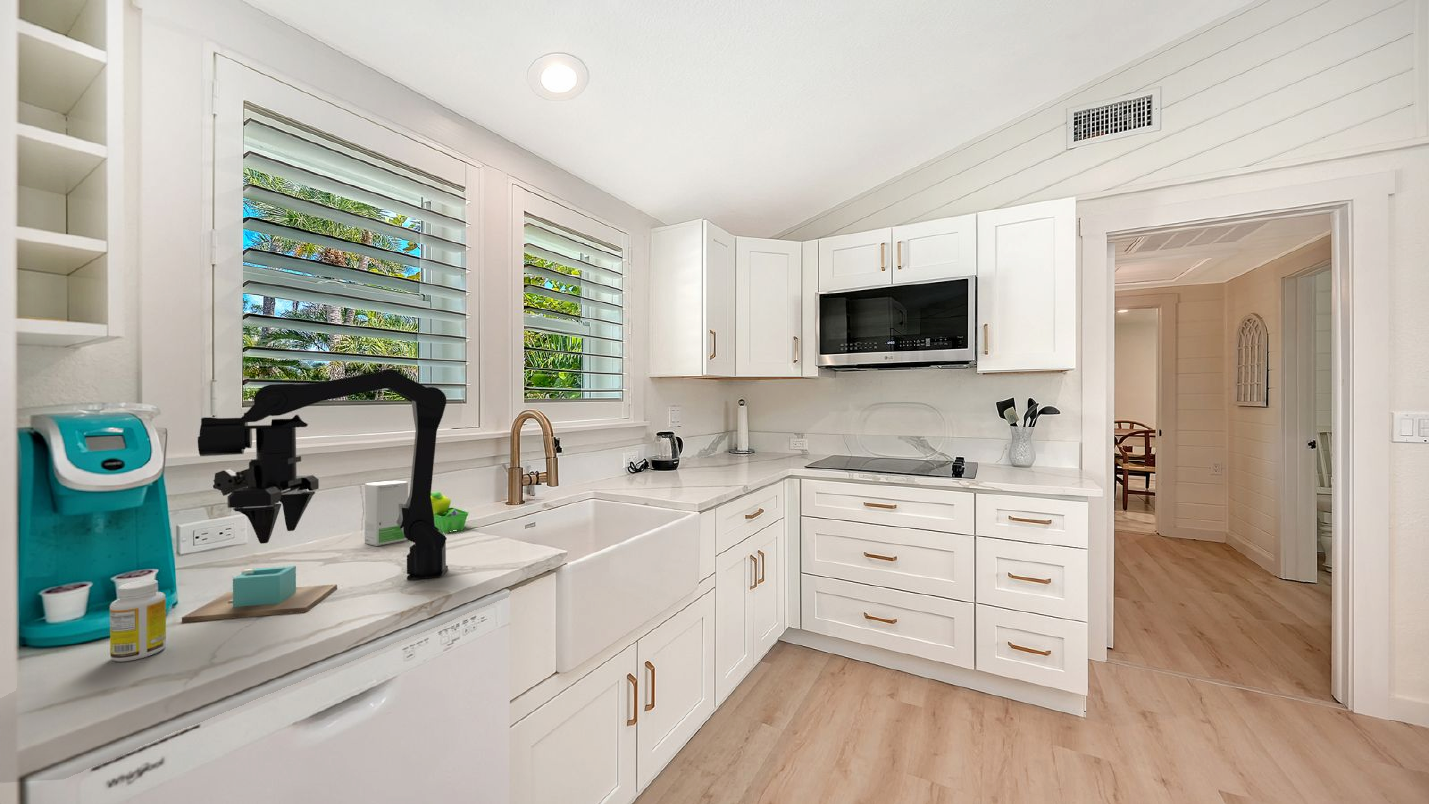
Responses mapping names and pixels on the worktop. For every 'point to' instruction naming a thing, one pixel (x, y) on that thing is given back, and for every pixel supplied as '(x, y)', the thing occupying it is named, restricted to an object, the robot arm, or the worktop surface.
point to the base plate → (293, 604)
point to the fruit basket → (447, 514)
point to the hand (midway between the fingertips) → (278, 536)
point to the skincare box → (384, 511)
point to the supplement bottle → (137, 621)
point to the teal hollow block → (264, 586)
